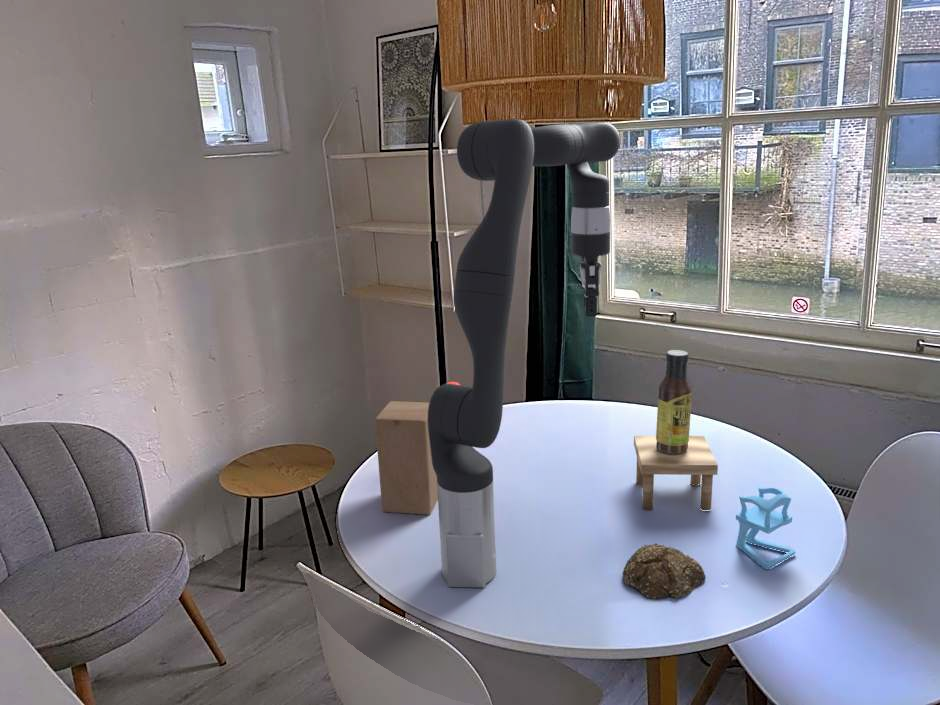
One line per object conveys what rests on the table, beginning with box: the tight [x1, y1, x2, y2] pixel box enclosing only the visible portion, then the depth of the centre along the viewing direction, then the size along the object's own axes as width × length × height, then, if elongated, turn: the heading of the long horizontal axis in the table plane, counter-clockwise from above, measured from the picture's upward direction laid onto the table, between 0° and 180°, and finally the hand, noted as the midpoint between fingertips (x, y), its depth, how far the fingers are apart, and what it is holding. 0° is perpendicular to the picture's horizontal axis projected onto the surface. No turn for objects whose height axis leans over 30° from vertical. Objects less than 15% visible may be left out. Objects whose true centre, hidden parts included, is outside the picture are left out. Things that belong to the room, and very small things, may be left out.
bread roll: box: [622, 543, 706, 600], centre depth 128 cm, size 13×12×5 cm
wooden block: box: [374, 400, 438, 516], centre depth 155 cm, size 10×10×20 cm
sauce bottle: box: [655, 349, 693, 454], centre depth 150 cm, size 6×6×20 cm
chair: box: [735, 486, 796, 570], centre depth 133 cm, size 8×8×12 cm
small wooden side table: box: [633, 435, 719, 512], centre depth 155 cm, size 14×14×10 cm
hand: (590, 310), depth 156 cm, fingers open, 8 cm apart
